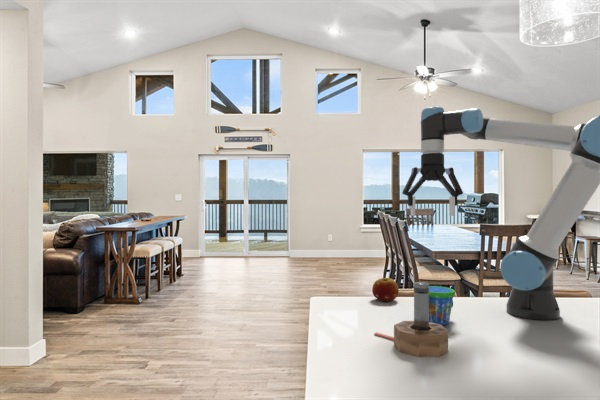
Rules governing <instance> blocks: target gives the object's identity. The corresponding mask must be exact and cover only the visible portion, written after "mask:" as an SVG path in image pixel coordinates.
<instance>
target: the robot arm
mask: <svg viewBox="0 0 600 400" xmlns="http://www.w3.org/2000/svg"><path fill="white" fill-rule="evenodd" d="M482 112H483V111H482V110H481V109H480V108H467V109H461V110H455V111H447V112H446V111H445V109H444V108H443V107H441V106H430V107H426V108H423V109H422V111H421V116H420V136H421V137H420V153H422V154H421V155H420V168H419V167H415V166H414V167H412V168H411V171H410V172H411V174H410V176H409V178H408V180H407V182H406V184H405V185H404V188H403V189H402V192H401V193H402V195H405V196H406V197H407V205H408V207H410V216H412V217H416V196H414V195H416V194H415V193H417V192H418V190H419V189H420V188H421V187H422V186H423V184H424V183H425V182H426V181H427V182H431V181H433V182H436V181H438V182H440V183H441V184H442V186H443V187H444V188H445V189H446V191H448V193H449V194H450V195H451V196H449V197H448V200H449V201H448V203H449V205H448V206H449V207H448V211H449V216H450V217H453V216H456V207H457V206H458V197H459V196H460V195H463V194H464V191H463V189H462V187H461V185H460V183H459V181H458V179H457V177H456V174H455V171H454V168H453V167H452V166H451V167H447V168H445V154H444V152H445V136H448V135H449V136H450V135H459V134H460V135H462V136H464V137H466V138H467V139H470V140H484V141H485V140H486V141H493V142H499V143H500V142H501V143H507V144H516V145H523V146H530V147H531V146H532V147H539V148H546V149H552V150H561V151H569V152H570V153H569V156H570V157H569V158H570V159H571V163H570V164H569V166H568V168H567V169H566V171H565V173H564V174H563V176H562V177H561V179H560V180H559V182H558V184H557V185H556V187H555V189H554V190H553V192H552V193H551V195H550V197H548V200H547V202H546V203H545V205H544V206H543V208H542V209H541V212H540V213H539V215H538V217H536V220H535V221H534V222H533V224H532V226H531V228H530V229H529V230H528V232H527V234H526V235H522V236H518V237H517V239H516V241H515V242H513V243H512V244H511V245H512V246H511V247H512V248H511V249H510V251H509V252H508V253H507V254H505V255H504V256H503V258H502V259H501V262H500V266H499V270H500V274H501V277H502V279H503V280H504V281H505V282H506V284H508V285H509V286H510V287H511V291H510V294H509V296H508V299H507V302H506V312H507V313H508V314H510V315H511V316H512V315H513V316H515V317H519V318H522V319H528V320H529V319H530V320H538V321H539V320H540V321H545V320H546V321H553V320H558V319H560V317H561V311H560V307H559V304H558V301H557V299H556V298H557V297H556V295H555V293H554V266H555V265H556V263H557V262H558V260H559V258H560V256H559V254H558V253H559V252H558V249H559V248H560V245H562V243H563V241H564V240H565V238H566V237H567V236H568V234H569V232H570V230H571V229H572V227H573V226H574V224H575V223H576V221H577V220H578V218H579V217H580V215H581V213H582V212H583V210H584V209H585V207H587V204H588V203H589V201H590V200H591V198H592V196H593V195H594V193H595V192H596V191H597V189H598V188H599V186H600V115H597V116H595V117H593V118H591V119H590V120H589V121H587V122H586V123H580V124H577V126H575V125H565V124H564V125H563V124H557V123H556V124H554V123H546V122H545V123H544V122H533V121H523V120H515V119H513V120H512V119H506V118H505V119H503V118H493V117H485V116H484V114H483V113H482ZM419 173H420V174H421V176H420V178H419V179H418V181H417V182H416V183H415V184H414V181H415V180H416V178H417V176H418V174H419ZM445 173H446V175H447V177H448V178H449V180H450V182H451V184H452V185H451V184H450V183H449V181H448V180H447V179H446V177H445V176H444V174H445ZM413 184H414V185H413ZM412 185H413V187H412Z"/></svg>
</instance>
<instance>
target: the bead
mask: <svg viewBox="0 0 600 400" xmlns="http://www.w3.org/2000/svg"><path fill="white" fill-rule="evenodd" d="M393 337H394V341H393V345H394V347H396V349H397V350H398V352H399V353H403V354H408V355H411V356H414V357H417V358H418V357H419V358H420V357H421V358H424V357H425V358H427V357H429V358H431V357H432V358H433V357H435V358H436V357H441V356H443V355H444V354H445V353H447V352H449V329H447V328H446V327H444V325H440V324H436V323H431V322H429V330H428V331H419V330H414V320H402V321H400V322H398V323H394V325H393Z"/></svg>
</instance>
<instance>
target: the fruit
mask: <svg viewBox="0 0 600 400" xmlns="http://www.w3.org/2000/svg"><path fill="white" fill-rule="evenodd" d="M371 291H372V295H373V296H374V297H375V299H377V300H379V301H381V302H392V301H394V300H395V299H396V298H397V297H398V295H399V292H400V291H399V285H398V284H397V282H396V281H395V280H394V279H392V278H389V277H382V278H381V277H380V278H378V279H377V280H375V281H374V282H373V284H372V290H371Z"/></svg>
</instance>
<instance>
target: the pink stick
mask: <svg viewBox="0 0 600 400" xmlns="http://www.w3.org/2000/svg"><path fill="white" fill-rule="evenodd" d="M374 336H376V337H379V338H384V339H386V340H390V341H393V342H394V336H390V335H387V334H383V333H380V332H375V333H374Z"/></svg>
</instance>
